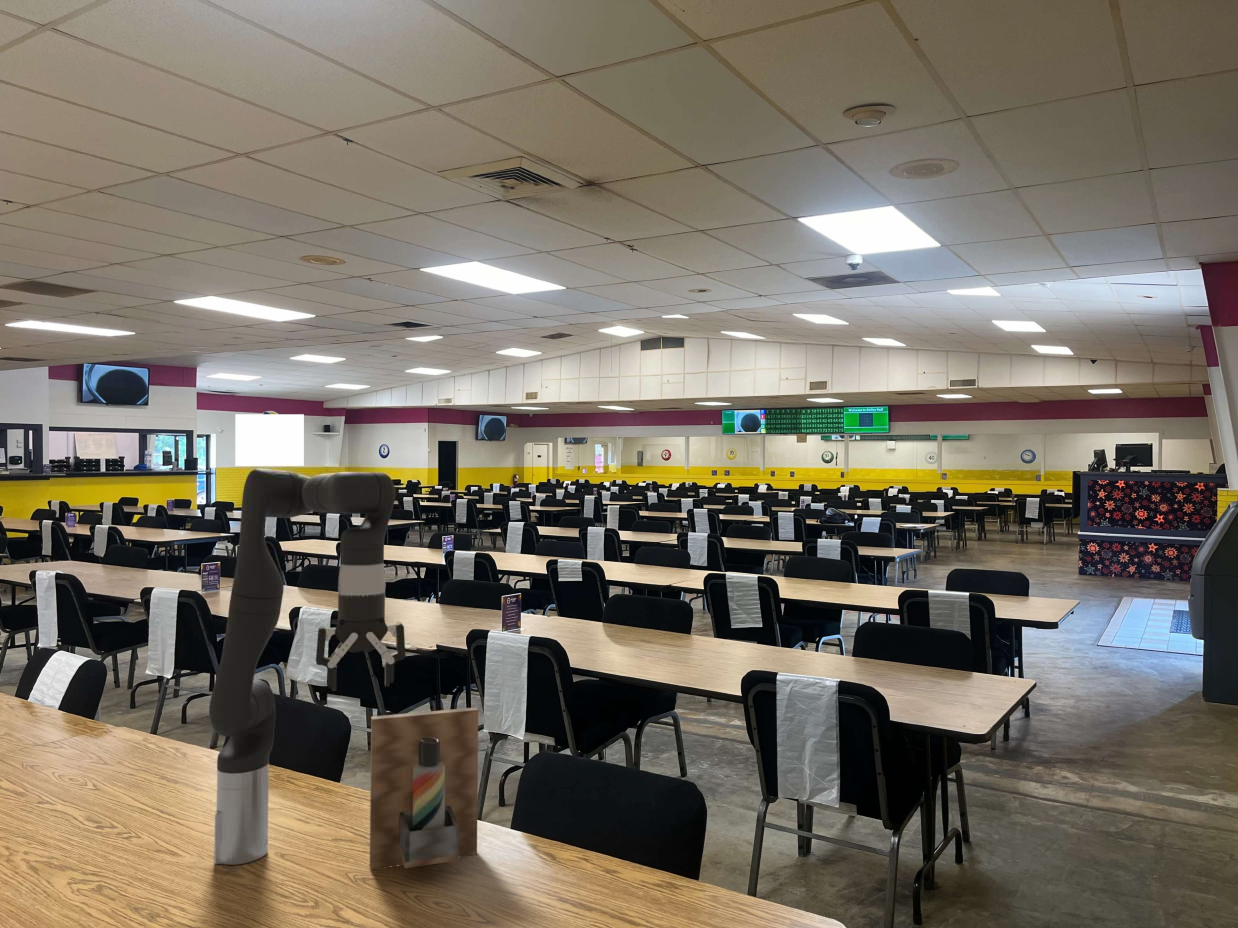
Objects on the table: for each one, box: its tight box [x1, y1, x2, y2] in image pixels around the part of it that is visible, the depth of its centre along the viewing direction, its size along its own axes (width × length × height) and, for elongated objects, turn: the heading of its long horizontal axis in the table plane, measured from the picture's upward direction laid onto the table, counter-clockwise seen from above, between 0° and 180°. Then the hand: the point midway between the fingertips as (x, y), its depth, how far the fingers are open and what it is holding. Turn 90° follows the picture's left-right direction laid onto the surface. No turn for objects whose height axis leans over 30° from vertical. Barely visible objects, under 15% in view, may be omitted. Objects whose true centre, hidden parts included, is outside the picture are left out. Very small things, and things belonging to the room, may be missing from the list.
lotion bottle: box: [413, 738, 445, 831], centre depth 155 cm, size 6×6×20 cm
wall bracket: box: [369, 706, 479, 871], centre depth 157 cm, size 20×12×28 cm, turn 110°
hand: (360, 687), depth 141 cm, fingers open, 8 cm apart
